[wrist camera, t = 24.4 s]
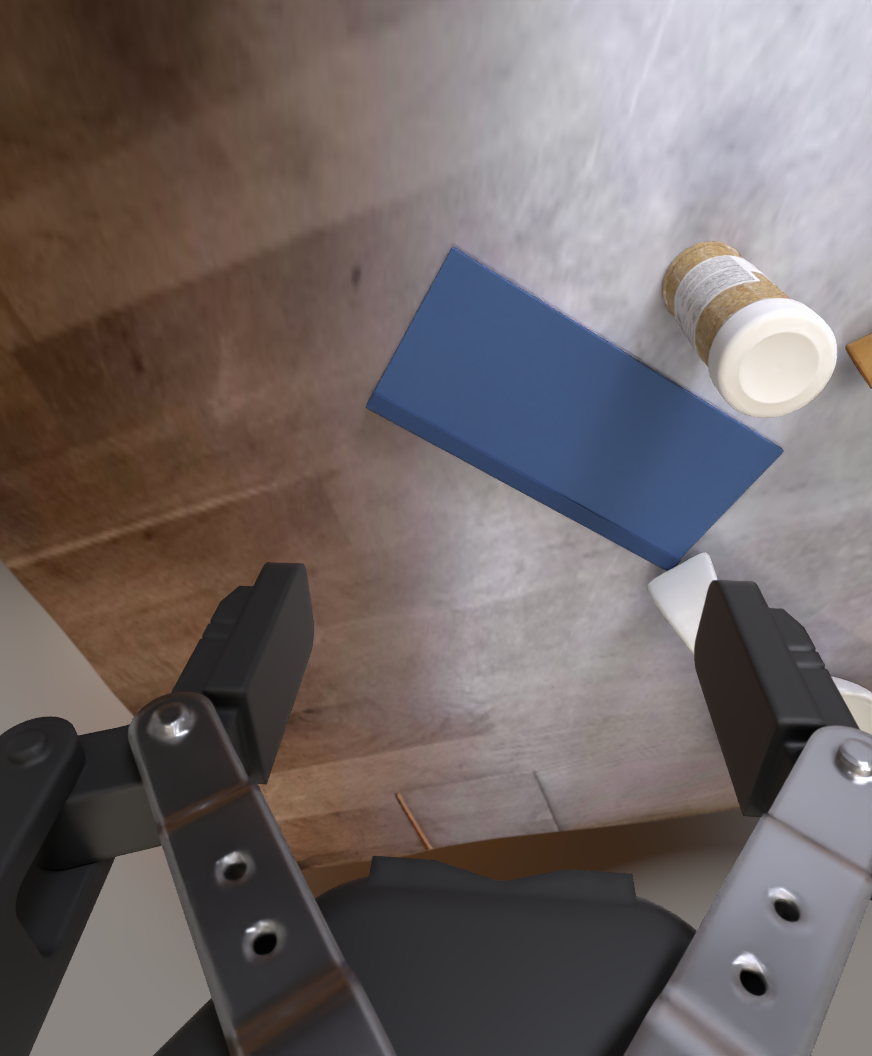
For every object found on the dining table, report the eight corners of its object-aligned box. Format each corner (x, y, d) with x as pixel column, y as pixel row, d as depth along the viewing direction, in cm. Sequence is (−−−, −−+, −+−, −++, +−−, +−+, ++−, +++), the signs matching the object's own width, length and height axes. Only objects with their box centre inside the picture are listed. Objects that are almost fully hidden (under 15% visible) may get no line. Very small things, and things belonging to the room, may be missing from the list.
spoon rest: (897, 710, 55) (946, 788, 49) (759, 767, 60) (788, 845, 54) (746, 519, 46) (784, 587, 40) (598, 605, 51) (612, 677, 45)
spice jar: (753, 302, 39) (849, 396, 28) (672, 335, 40) (733, 437, 29) (733, 223, 37) (830, 290, 26) (649, 260, 38) (705, 340, 27)
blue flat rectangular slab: (366, 404, 44) (365, 407, 44) (452, 246, 39) (451, 248, 38) (667, 567, 49) (669, 572, 49) (781, 448, 44) (785, 452, 43)
